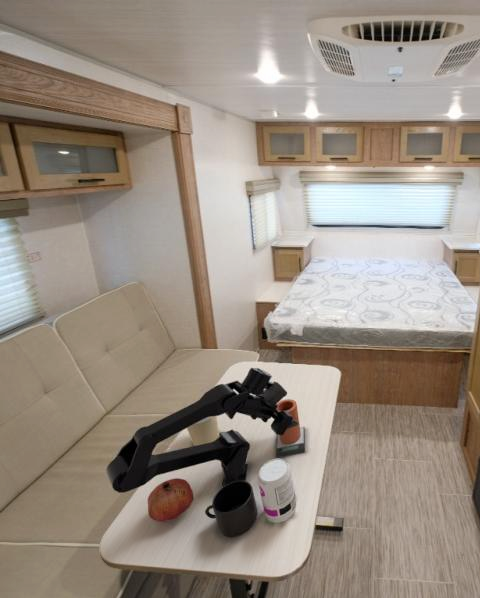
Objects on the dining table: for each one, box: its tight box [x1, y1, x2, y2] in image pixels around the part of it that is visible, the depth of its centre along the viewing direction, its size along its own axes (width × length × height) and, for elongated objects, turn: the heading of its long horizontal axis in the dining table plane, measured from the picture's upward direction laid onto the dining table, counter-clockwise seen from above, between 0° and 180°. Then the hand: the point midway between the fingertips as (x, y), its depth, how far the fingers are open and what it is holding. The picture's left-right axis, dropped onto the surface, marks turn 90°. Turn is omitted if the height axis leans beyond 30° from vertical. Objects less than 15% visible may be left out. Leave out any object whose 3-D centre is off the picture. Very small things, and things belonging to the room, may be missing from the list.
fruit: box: [147, 477, 195, 523], centre depth 91 cm, size 11×10×10 cm
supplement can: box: [257, 458, 297, 524], centre depth 90 cm, size 8×8×15 cm
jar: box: [276, 398, 301, 445], centre depth 113 cm, size 7×7×13 cm
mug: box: [204, 480, 259, 538], centre depth 89 cm, size 9×12×9 cm
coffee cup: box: [186, 416, 220, 446], centre depth 114 cm, size 9×9×12 cm
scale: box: [275, 426, 306, 458], centre depth 115 cm, size 10×9×2 cm
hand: (290, 416), depth 113 cm, fingers open, 9 cm apart
